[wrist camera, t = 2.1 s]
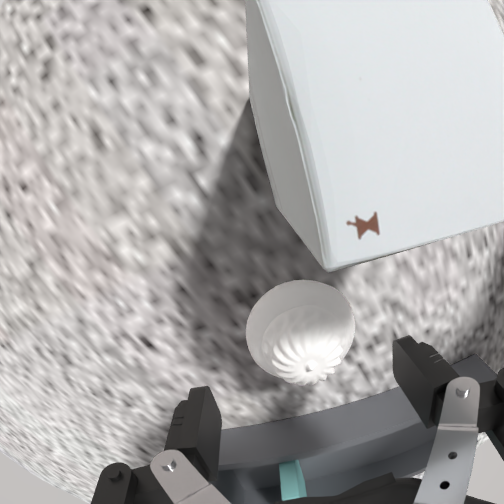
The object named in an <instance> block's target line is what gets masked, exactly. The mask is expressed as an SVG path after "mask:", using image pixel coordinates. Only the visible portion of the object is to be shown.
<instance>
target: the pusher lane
mask: <svg viewBox="0 0 504 504" xmlns="http://www.w3.org/2000/svg"><path fill="white" fill-rule="evenodd" d="M451 367H452V368H453V369H454V370H455V371H456V372H457V374H458V375H459V376H460V377H470V378H473V379H474V380H476V381H477V382H478V383H483V382H487V381H491V380H495V379H496V378H497V374H496V373H495V372H494V371H493V370H492V369H491V368H490V367H489V366H487V365H486V364H485V363H484V362H483V361H482V360H481V359H480V358H479V357H478V356H477V355H476V354H474V355H472V356H470V357H468V358H466V359H464V360H462V361H459V362H457V363H455V364H453V365H451ZM437 429H438V428H437V427H436V425H435V426H433V427H431V428H429V429H427V428H426V427H425V425H424V424H423V422H422V420H421V419H420V417H419V416H418V414H417V412H416V411H415V409H414V408H413V406H412V405H411V403H410V401H409V400H408V398H407V397H406V395H405V394H404V392H403V391H402V389H401V388H400V387H397V388H395V389H392V390H389V391H386V392H383V393H380V394H377V395H374V396H371V397H368V398H365V399H362V400H359V401H355V402H352V403H349V404H345V405H342V406H338V407H335V408H331V409H327V410H323V411H319V412H315V413H311V414H307V415H303V416H298V417H294V418H289V419H284V420H279V421H274V422H269V423H263V424H258V425H252V426H245V427H239V428H232V429H224V430H221V439H220V451H219V464H218V476H217V481H210V482H208V483H209V484H210V483H211V484H212V485H213V486H214V487H215V488H216V489H217V490H218V491H219V492H220V493H221V494H222V495H223V496H224V497H225V498H226V499H227V500H228V501H229V502H230V503H231V504H274V502H278V501H283V500H282V495H281V483H280V470H279V463H282V462H288V461H293V460H298V461H299V464H300V467H301V471H302V474H303V477H304V480H305V487H306V493H307V497H324V496H336V495H339V494H341V493H343V492H345V491H347V490H349V489H351V488H353V487H355V486H356V485H358V484H360V483H362V482H364V481H367V480H370V479H373V478H376V477H379V476H382V475H384V474H387V473H390V472H392V473H393V476H394V478H410V477H412V476H415V475H417V474H419V473H422V472H424V471H425V470H426V467H427V464H428V461H429V458H430V454H431V451H432V447H433V444H434V440H435V437H436V433H437ZM477 442H478V440H477ZM476 445H477V444H476Z"/></svg>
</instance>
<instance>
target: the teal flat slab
mask: <svg viewBox="0 0 504 504" xmlns="http://www.w3.org/2000/svg"><path fill="white" fill-rule="evenodd" d="M279 470H280V483H281V495H282V500H283V501H284V500H290V499H296V498H301V497H307V493H306V487H305V480H304V477H303V474H302V471H301V467H300V464H299V461H298V460H293V461H288V462H282V463H279Z"/></svg>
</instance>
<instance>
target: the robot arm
mask: <svg viewBox="0 0 504 504" xmlns="http://www.w3.org/2000/svg"><path fill="white" fill-rule="evenodd" d="M393 373H394V377H395V379H396V381H397V383H398V384H399V386H400V388H401V389H402V391H403V392H404V394H405V395H406V397H407V398H408V400H409V401H410V403H411V405H412V406H413V408H414V409H415V411H416V412H417V414H418V416H419V417H420V419H421V420H422V422H423V424H424V425H425V427H426V428H427V429H429V428H431V427H433V426H435V425H436V427H437V428H438V429H437V433H436V437H435V440H434V444H433V447H432V451H431V454H430V458H429V461H428V464H427V467H426V470H425V473H424V476H423V479H418V478H394V476H393V473H392V472H390V473H387V474H384V475H382V476H379V477H376V478H373V479H370V480H367V481H364V482H362V483H360V484H358V485H356V486H355V487H353V488H351V489H349V490H347V491H345V492H343V493H341V494H339V495H336V496H324V497H301V498H296V499H290V500H284V501H278V502H274V504H495V503H491V502H488V501H484V500H481V499H477V498H474V497H471V496H468V495H466V492H467V489H468V485H469V480H470V476H471V471H472V466H473V461H474V456H475V450H476V444H477V437H478V433H482V432H486V434H487V436H488V437H489V439H490V440H491V442H492V443H493V445H494V446H495V448H496V449H497V451H498V453H499V454H500V456H501V457H502V459H503V461H504V368H502V369H501V370H500V371H499V372H498V374H497V378H496V379H495V380H491V381H487V382H483V383H478V382H477V381H476V380H474V379H473V378H470V377H460V376H459V375H458V374H457V372H456V371H455V370H454V369H453V368H452V367H451V366H450V365H449V364H448V363H447V362H446V361H445V360H443V357H442V356H441V355H440V354H438V352H437V351H436V350H435V349H434V348H433V347H432V346H430V345H428V344H426V343H423V342H421V343H419V344H418V343H417V342H416V341H415V340H414V339H413V338H412V337H411V336H410V335H408V336H406V337H403V338H400V339H397V340H394V341H393ZM221 427H222V419H221V414H220V411H219V408H218V406H217V404H216V401H215V399H214V397H213V394H212V392H211V390H210V388H209V387H208V386H204V387H197V388H191V389H190V392H189V397H188V400H184V401H181V402H180V403H179V405H178V406H177V407H176V408H175V411H174V415H173V419H172V422H171V426H170V430H169V433H168V437H167V441H166V445H165V449H164V451H163V452H160V453H159V454H157V455H156V456H155V457H154V458H153V459H152V461H151V464H150V465H147V466H144V467H140V468H136V469H130V467H129V466H128V465H126V464H124V463H113V464H110V465H108V466H107V467H106V468H104V470H103V471H102V472H101V474H100V477H99V480H98V483H97V486H96V489H95V493H94V496H93V499H92V502H91V504H231V503H230V502H229V501H228V500H227V499H226V498H225V497H224V496H223V495H222V494H221V493H220V492H219V491H218V490H217V489H216V488H215V487H214V486H213V485H212V484H211V483H210V484H209V483H208V482H210V481H217V476H218V464H219V451H220V439H221Z"/></svg>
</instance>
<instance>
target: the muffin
mask: <svg viewBox="0 0 504 504" xmlns="http://www.w3.org/2000/svg"><path fill="white" fill-rule="evenodd" d="M354 334H355V318H354V314H353V310H352V308H351V305H350V303H349V302H348V300H347V299H346V297H345V296H344V295H343V294H342V293H341V292H340V291H338V290H337V289H335V288H334V287H332V286H330V285H327V284H324V283H321V282H317V281H314V280H313V281H312V280H305V279H303V280H293V281H290V282H284V283H283V284H280V285H278V286H275V287H274V288H272V289H271V290H269V291H267V293H266V294H264V295H263V296H262V297H261V298H260V299H259V300H258V301H257V303H256V304H255V305H254V307H253V308H252V310H251V312H250V314H249V317H248V320H247V325H246V340H247V345H248V348H249V351H250V354H251V356H252V357H253V359H254V361H255V362H256V363H257V364H258V365H259V366H260V367H261V368H262V369H263V370H265V371H266V372H268V373H269V374H271V375H273V376H276V377H279V378H282V379H284V380H285V381H286V382H288V383H291V384H292V383H295V384H297V385H299V386H304V385H306V384H307V383H308V384H310V385H315V384H316V383H317V381H318V380H321V381H325V380H326V377H327V375H328V374H334V373H335V368H334V367H335V366H337V365H339V364H340V363H341V361H342V359H343V358H344V357H345V355H346V354H347V352H348V350H349V348H350V346H351V344H352V341H353V338H354Z"/></svg>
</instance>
